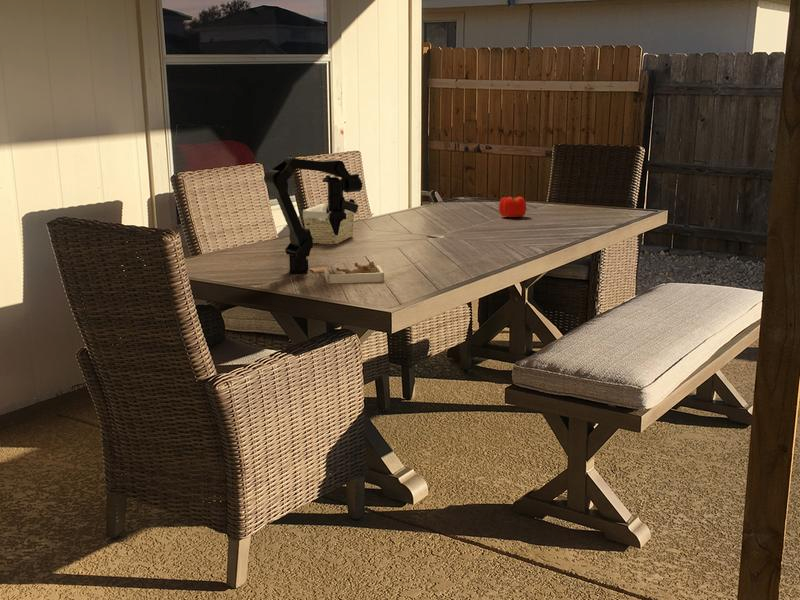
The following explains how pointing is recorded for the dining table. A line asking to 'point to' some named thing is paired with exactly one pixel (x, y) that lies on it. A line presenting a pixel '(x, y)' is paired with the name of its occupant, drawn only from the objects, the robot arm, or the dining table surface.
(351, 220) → the storage basket
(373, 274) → the frame
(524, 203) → the tomato
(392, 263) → the dining table surface
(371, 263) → the lion figurine
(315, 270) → the terracotta tile
